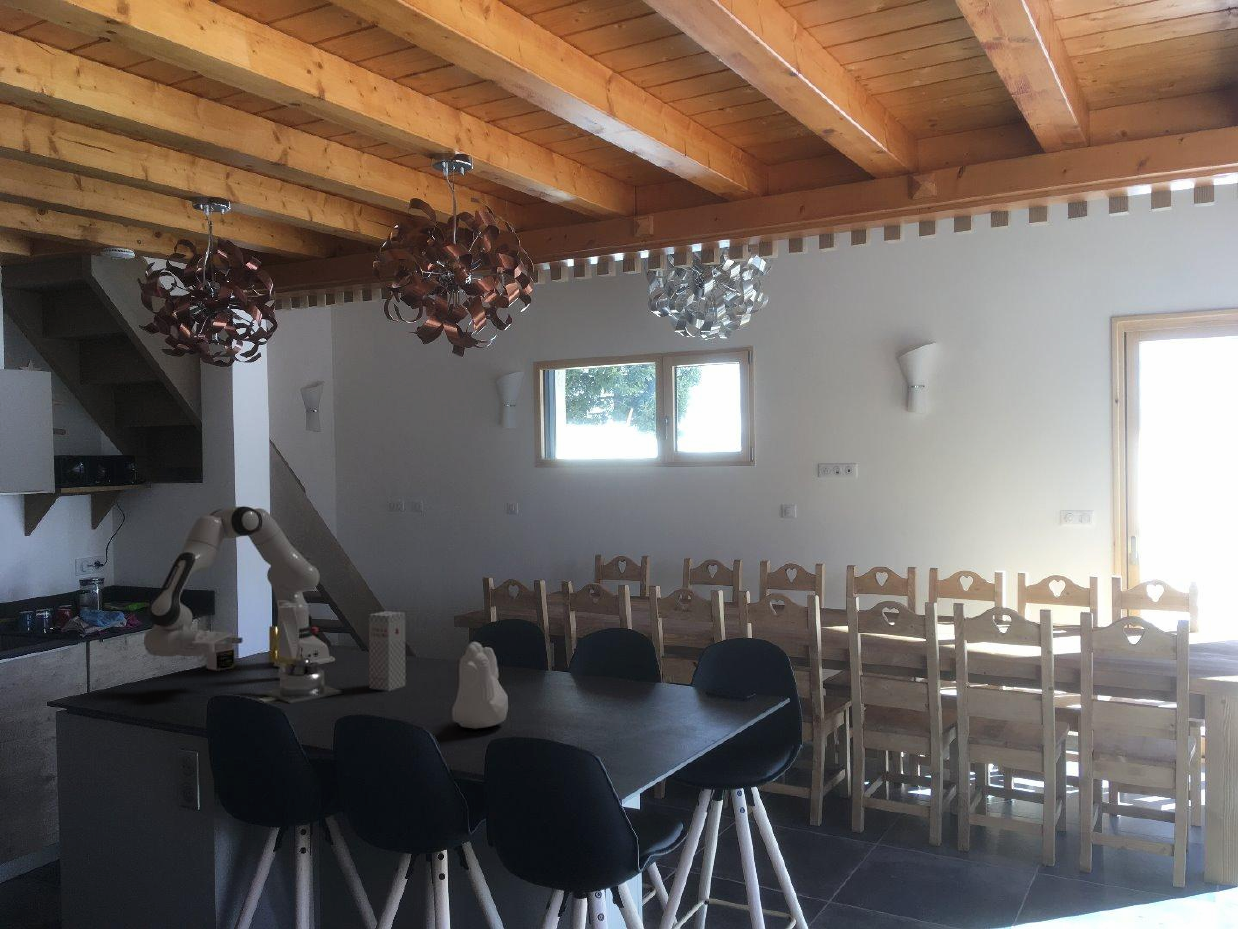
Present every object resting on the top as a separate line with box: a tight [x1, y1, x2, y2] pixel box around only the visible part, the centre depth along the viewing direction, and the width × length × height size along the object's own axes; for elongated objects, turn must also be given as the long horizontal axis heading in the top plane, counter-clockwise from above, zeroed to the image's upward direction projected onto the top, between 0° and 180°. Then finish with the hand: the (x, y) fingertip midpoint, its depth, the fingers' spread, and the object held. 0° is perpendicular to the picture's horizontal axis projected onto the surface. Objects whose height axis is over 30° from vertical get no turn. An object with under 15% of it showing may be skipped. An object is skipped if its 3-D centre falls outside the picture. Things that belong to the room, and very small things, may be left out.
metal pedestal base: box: [262, 668, 342, 704], centre depth 324 cm, size 18×18×7 cm
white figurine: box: [451, 641, 509, 729], centre depth 286 cm, size 25×16×25 cm, turn 159°
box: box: [368, 610, 406, 692], centre depth 334 cm, size 8×8×25 cm
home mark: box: [258, 696, 277, 703], centre depth 316 cm, size 4×4×1 cm
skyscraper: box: [276, 600, 304, 680], centre depth 349 cm, size 8×8×28 cm
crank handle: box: [268, 625, 320, 675], centre depth 326 cm, size 18×10×14 cm, turn 66°
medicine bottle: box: [206, 647, 235, 672], centre depth 366 cm, size 7×7×12 cm
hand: (236, 643), depth 329 cm, fingers open, 8 cm apart
